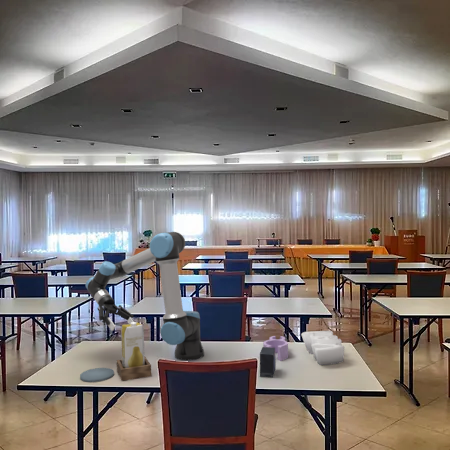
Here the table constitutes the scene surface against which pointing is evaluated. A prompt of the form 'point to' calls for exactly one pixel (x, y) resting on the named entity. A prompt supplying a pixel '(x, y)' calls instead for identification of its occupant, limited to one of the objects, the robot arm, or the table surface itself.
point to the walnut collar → (133, 371)
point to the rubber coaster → (97, 374)
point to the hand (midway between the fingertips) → (124, 328)
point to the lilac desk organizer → (278, 346)
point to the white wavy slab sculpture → (324, 347)
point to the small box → (267, 362)
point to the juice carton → (132, 345)
